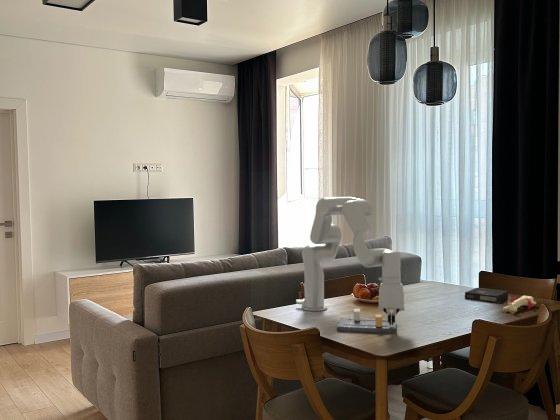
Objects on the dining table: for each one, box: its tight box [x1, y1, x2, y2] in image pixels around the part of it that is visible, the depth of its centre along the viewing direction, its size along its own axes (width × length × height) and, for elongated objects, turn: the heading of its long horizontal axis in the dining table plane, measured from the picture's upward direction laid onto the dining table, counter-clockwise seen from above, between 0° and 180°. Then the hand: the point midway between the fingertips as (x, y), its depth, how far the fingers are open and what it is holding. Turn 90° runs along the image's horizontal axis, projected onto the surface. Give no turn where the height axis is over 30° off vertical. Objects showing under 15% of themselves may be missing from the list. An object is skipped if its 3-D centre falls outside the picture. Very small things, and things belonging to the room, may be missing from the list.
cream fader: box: [353, 308, 361, 321], centre depth 244 cm, size 2×4×4 cm, turn 169°
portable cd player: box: [464, 287, 509, 304], centre depth 293 cm, size 16×17×4 cm
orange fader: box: [375, 314, 383, 327], centre depth 233 cm, size 2×4×4 cm, turn 168°
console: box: [336, 317, 397, 335], centre depth 239 cm, size 24×16×2 cm, turn 79°
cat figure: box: [501, 295, 537, 315], centre depth 269 cm, size 10×9×25 cm
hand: (391, 324), depth 232 cm, fingers closed
